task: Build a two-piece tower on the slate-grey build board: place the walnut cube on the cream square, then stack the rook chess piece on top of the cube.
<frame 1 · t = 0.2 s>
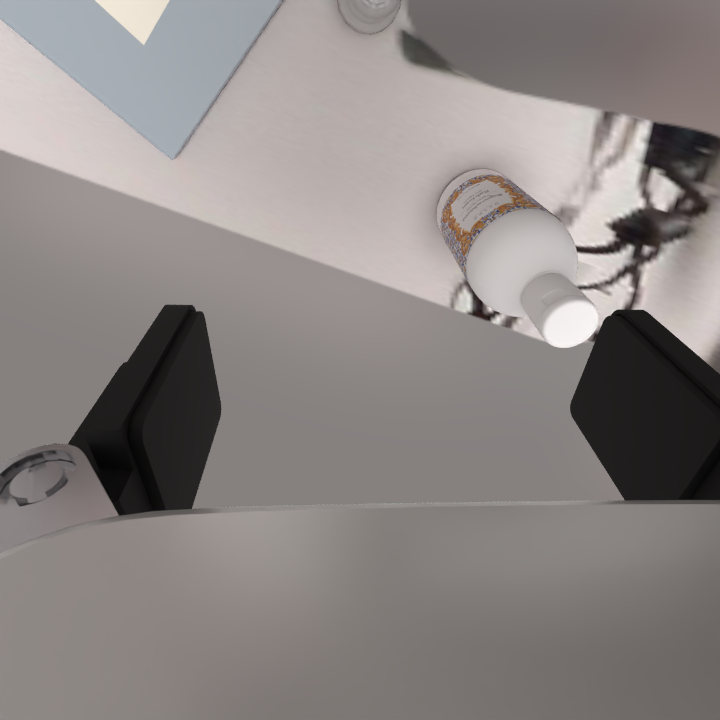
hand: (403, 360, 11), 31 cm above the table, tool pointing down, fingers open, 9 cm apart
bath foam: (473, 208, 40), on the table
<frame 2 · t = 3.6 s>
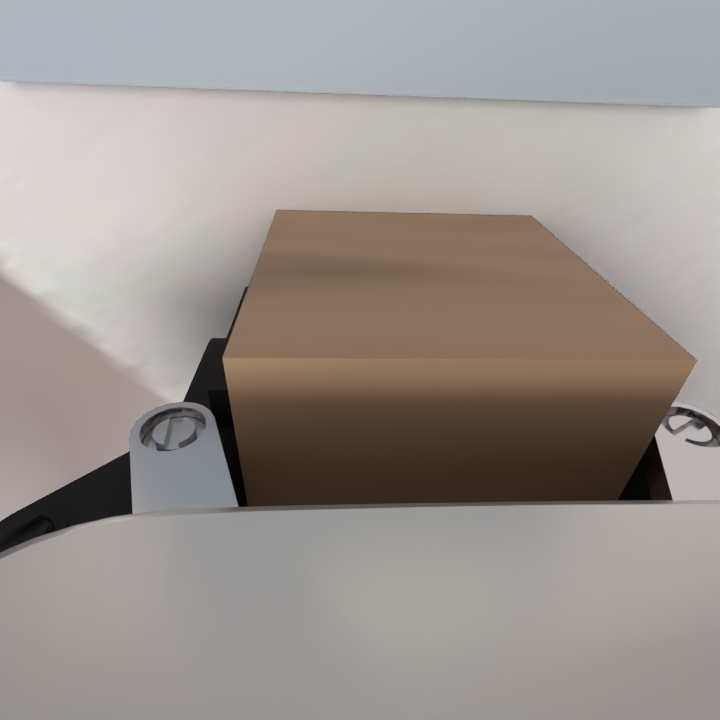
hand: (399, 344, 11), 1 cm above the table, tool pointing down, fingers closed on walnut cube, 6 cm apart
walnut cube: (395, 323, 12), on the table, touching gripper
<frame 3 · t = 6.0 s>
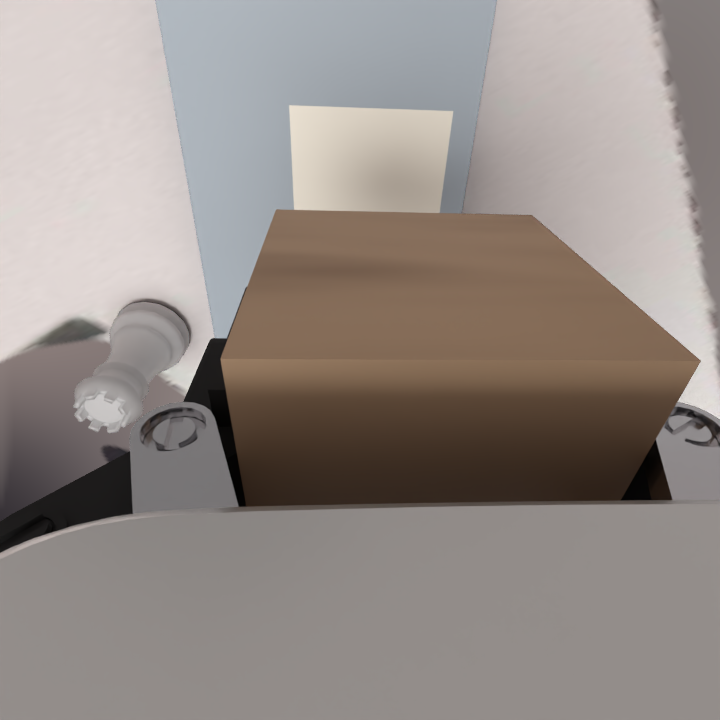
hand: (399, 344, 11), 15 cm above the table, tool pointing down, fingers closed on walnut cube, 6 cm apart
walnut cube: (395, 323, 12), point 14 cm above the table, touching gripper
rook chess piece: (156, 327, 28), on the table
build board: (329, 214, 25), on the table
when the fingers open (3 cm above the table, at t = 8.6 s): walnut cube drops 1 cm, resting on build board.
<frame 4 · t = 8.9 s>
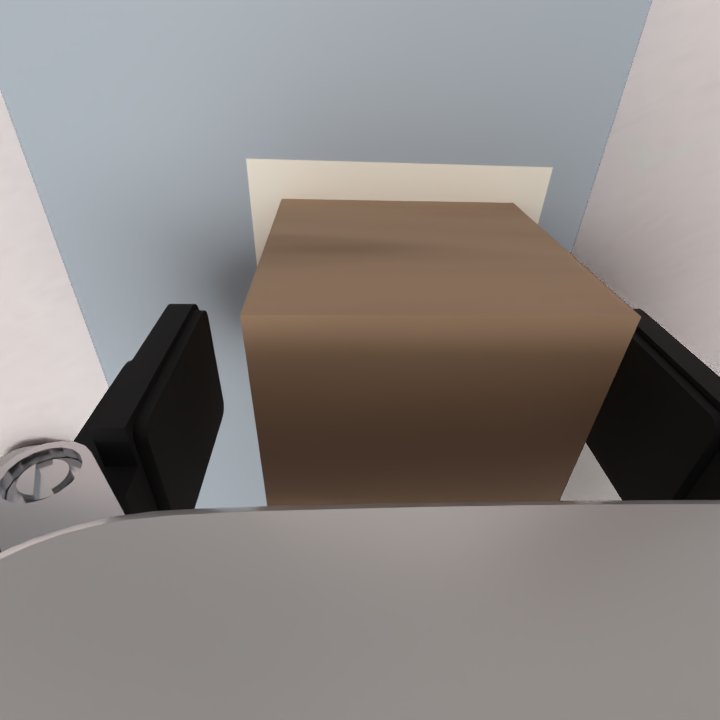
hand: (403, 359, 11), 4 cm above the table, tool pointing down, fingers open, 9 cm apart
walnut cube: (391, 304, 13), point 1 cm above the table, touching build board
build board: (324, 323, 15), on the table
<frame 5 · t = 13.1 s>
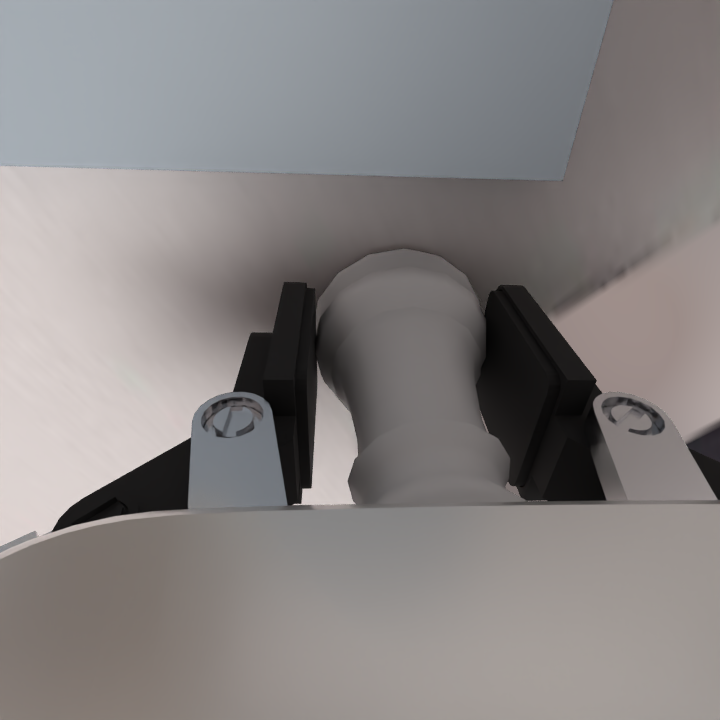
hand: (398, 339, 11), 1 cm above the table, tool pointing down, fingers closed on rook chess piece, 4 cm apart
rook chess piece: (394, 316, 12), on the table, touching gripper
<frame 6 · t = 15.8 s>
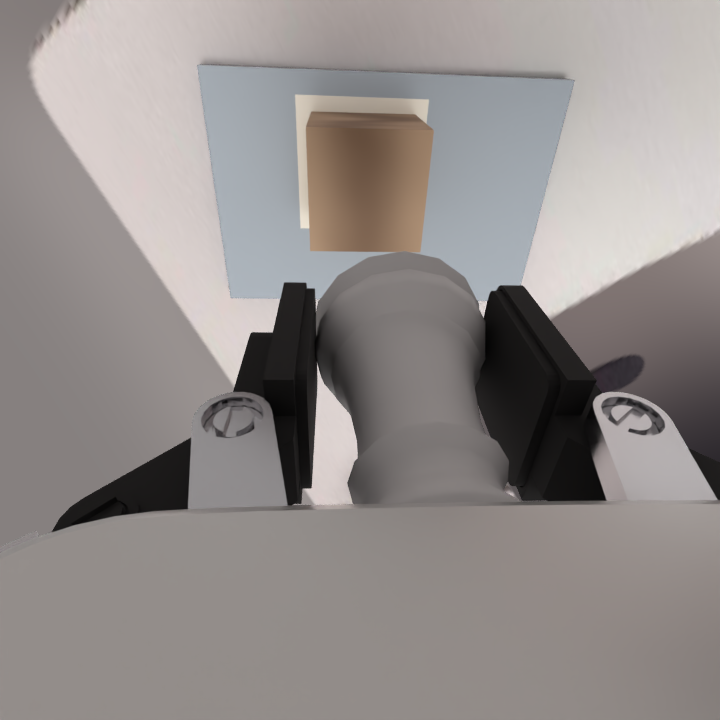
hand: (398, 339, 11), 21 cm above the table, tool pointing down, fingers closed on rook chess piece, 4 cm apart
walnut cube: (361, 168, 27), point 1 cm above the table, touching build board
rook chess piece: (393, 318, 12), point 20 cm above the table, touching gripper
build board: (380, 196, 30), on the table
when the fingers open (9 cm above the table, at t = 18.7 s): rook chess piece drops 1 cm, resting on walnut cube.
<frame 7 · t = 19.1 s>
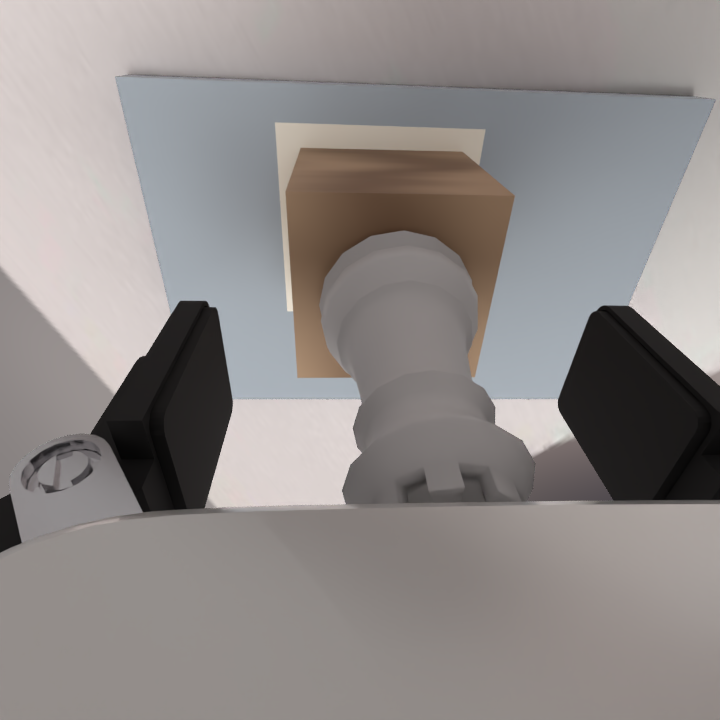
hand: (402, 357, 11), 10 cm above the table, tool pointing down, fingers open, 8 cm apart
walnut cube: (378, 229, 18), point 1 cm above the table, touching build board, rook chess piece
rook chess piece: (393, 295, 14), point 7 cm above the table, touching walnut cube
build board: (403, 264, 21), on the table
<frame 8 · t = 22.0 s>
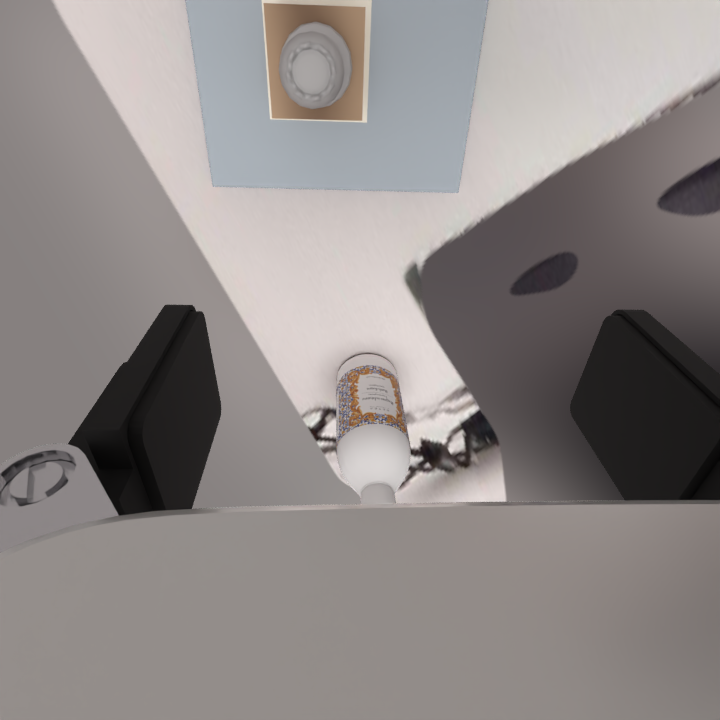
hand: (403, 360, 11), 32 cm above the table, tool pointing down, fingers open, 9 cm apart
bath foam: (366, 375, 52), on the table
walnut cube: (319, 62, 33), point 1 cm above the table, touching build board, rook chess piece
rook chess piece: (316, 66, 28), point 7 cm above the table, touching walnut cube
build board: (337, 93, 35), on the table
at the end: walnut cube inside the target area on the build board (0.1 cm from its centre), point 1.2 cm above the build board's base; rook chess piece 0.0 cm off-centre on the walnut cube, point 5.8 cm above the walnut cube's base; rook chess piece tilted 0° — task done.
